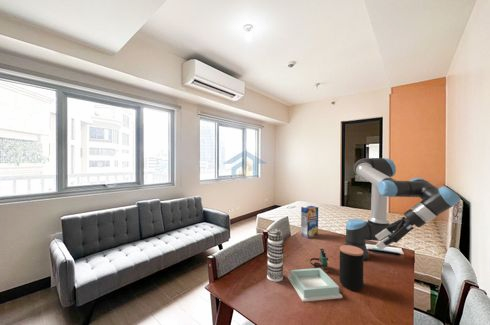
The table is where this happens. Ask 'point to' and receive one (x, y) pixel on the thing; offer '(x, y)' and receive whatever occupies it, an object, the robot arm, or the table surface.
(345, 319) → the table surface
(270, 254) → the decorative candle
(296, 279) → the pocket tray
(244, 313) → the table surface
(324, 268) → the binoculars
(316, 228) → the juice carton
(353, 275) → the coffee jar
